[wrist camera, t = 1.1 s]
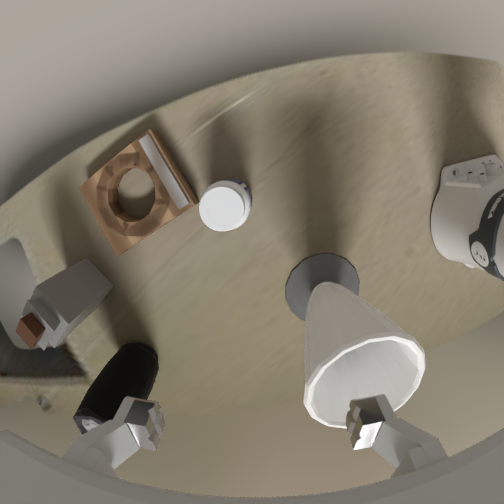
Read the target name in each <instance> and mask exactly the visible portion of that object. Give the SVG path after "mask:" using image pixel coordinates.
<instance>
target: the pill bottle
mask: <svg viewBox="0 0 504 504" xmlns="http://www.w3.org/2000/svg"><path fill="white" fill-rule="evenodd" d="M251 206H252V194H251V192H250V190H249V188H248V187H247V186H246V185H245V184H244V183H243V182H241V181H239V180H236V179H226V180H222V181H218V182H215V183H213V184H212V185H210V186H209V187H208V188H207V189H206V190H205V191H204V193H203V195H202V197H201V201H200V204H199V213H200V216H201V219H202V220H203V222H204V223H205V224H206V225H207V226H208V227H209V228H211V229H213V230H216V231H228V230H233V229H236V228H238V227H239V226H241V225H242V224H243V223H244V222H245V221H246V219H247V218H248V216H249V213H250V210H251Z"/></svg>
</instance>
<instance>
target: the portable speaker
mask: <svg viewBox="0 0 504 504" xmlns="http://www.w3.org/2000/svg"><path fill="white" fill-rule="evenodd" d="M158 369H159V367H158V358H157V355H156V353H155V352H154V350H153V349H152V348H151V347H149V346H147V345H146V344H144V343H135V344H126V345H124V346H122V347H121V349H120V350H119V351H118V352H117V353H116V354H115V355H114V356H113V357H112V358H111V359H110V361H109V362H108V363H107V364H106V366H105V367H104V368H103V370H102V371H101V373H100V374H99V375H98V377H97V378H96V379H95V381H94V382H93V384H92V385H91V386H90V388H89V389H88V391H87V393H86V395H85V397H84V399H83V400H82V402H81V404H80V406H79V408H78V410H77V412H76V414H75V415H74V417H73V419H74V420H75V422H76V424H77V426H78V428H79V429H80V431H81V433H82V435H83V434H84V433H86V432H88V431H90V430H92V429H94V428H96V427H97V426H99V425H101V424H103V423H105V422H106V421H108V420H113V418H114V417H115V415H116V413H117V411H118V409H119V407H120V405H121V403H122V402H123V400H124V398H125V397H127V396H128V397H134V398H140V399H145V400H147V399H148V396H149V394H150V392H151V390H152V387H153V384H154V383H155V382H154V381H155V378H156V375H157V372H158Z"/></svg>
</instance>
